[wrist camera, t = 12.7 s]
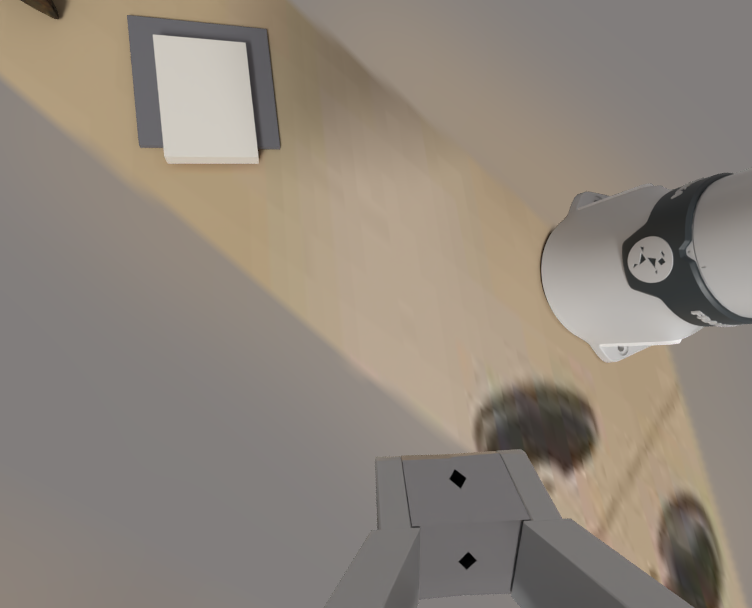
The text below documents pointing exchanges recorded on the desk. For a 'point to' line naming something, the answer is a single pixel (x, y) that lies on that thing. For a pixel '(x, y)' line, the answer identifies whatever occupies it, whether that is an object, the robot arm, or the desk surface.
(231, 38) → the mat
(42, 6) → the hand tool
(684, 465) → the desk surface
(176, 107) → the tile
